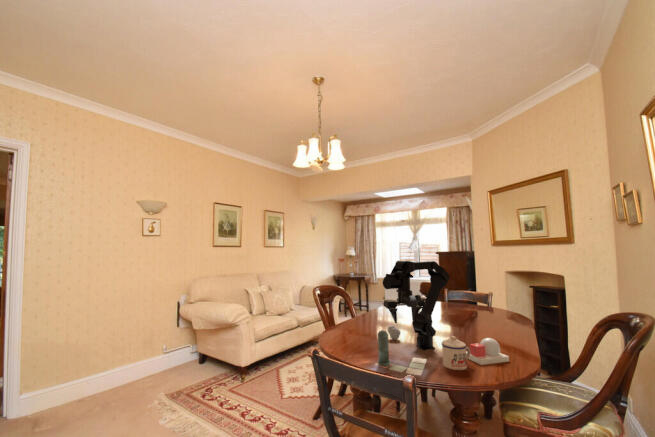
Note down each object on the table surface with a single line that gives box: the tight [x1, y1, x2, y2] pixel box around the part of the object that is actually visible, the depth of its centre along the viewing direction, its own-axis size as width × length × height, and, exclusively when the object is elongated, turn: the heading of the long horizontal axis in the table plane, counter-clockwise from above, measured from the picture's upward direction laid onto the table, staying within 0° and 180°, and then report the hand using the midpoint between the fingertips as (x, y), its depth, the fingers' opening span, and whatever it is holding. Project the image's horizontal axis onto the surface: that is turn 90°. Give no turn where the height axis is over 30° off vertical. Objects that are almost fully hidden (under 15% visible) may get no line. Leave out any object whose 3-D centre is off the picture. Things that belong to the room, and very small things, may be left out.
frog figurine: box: [386, 324, 401, 341], centre depth 155 cm, size 6×7×7 cm
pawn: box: [377, 329, 391, 368], centre depth 120 cm, size 5×5×13 cm
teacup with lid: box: [441, 335, 470, 371], centre depth 119 cm, size 12×9×12 cm
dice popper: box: [466, 337, 510, 366], centre depth 127 cm, size 14×10×8 cm
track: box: [374, 357, 428, 377], centre depth 117 cm, size 23×17×1 cm
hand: (405, 322), depth 137 cm, fingers open, 9 cm apart
